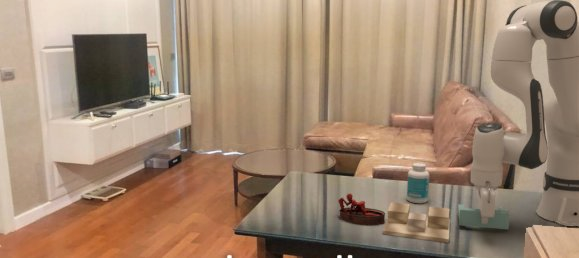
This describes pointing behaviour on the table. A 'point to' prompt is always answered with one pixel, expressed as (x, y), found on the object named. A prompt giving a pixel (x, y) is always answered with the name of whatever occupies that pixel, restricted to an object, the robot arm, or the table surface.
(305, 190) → the table surface
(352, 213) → the figurine
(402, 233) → the display stand
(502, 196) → the table surface
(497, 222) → the teal c-shaped bracket
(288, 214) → the table surface
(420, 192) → the pill bottle
